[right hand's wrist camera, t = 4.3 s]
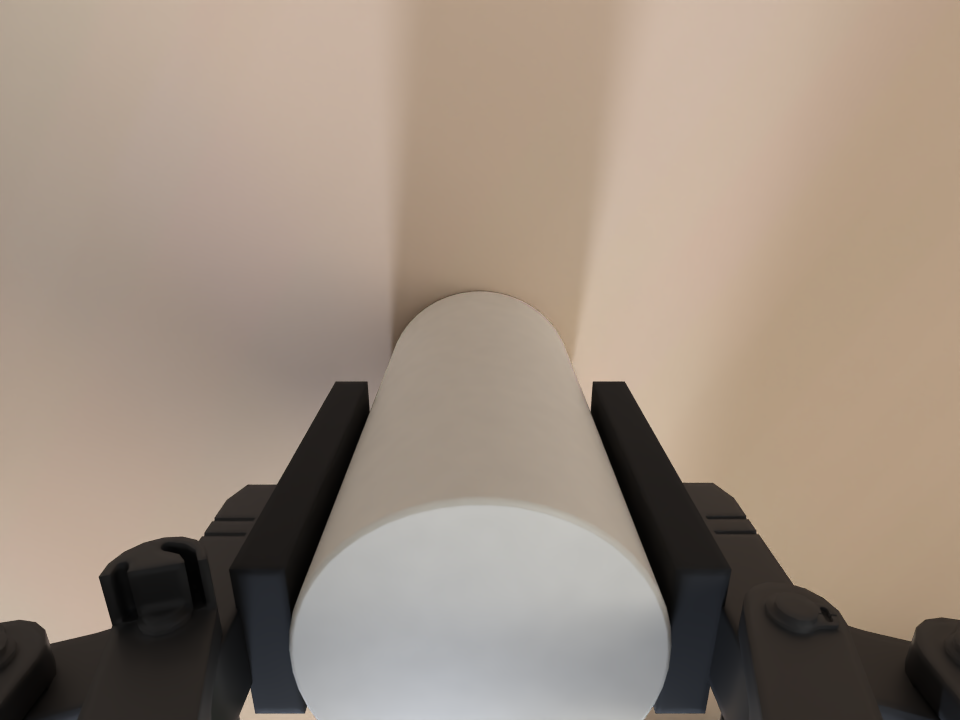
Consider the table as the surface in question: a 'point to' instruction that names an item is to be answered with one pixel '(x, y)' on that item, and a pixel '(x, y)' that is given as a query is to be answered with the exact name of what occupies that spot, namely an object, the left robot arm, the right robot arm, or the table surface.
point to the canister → (480, 542)
